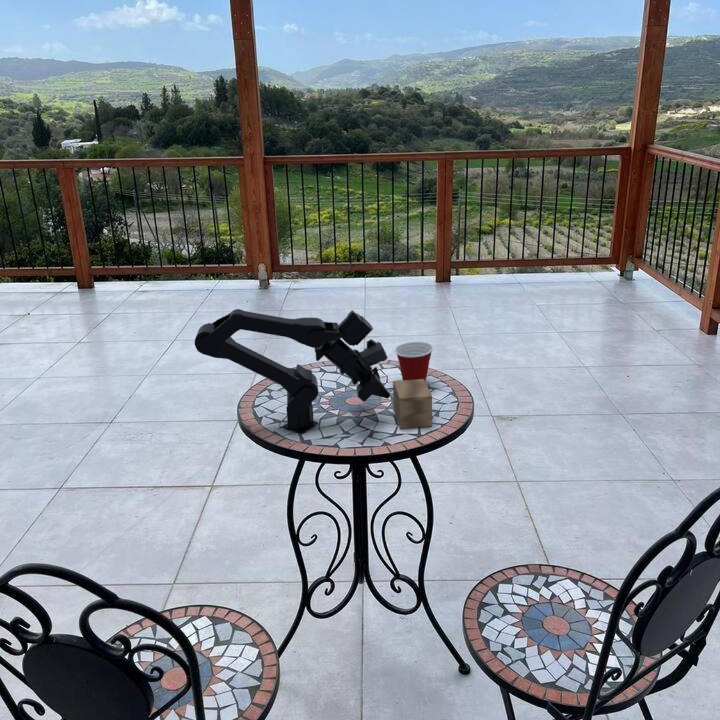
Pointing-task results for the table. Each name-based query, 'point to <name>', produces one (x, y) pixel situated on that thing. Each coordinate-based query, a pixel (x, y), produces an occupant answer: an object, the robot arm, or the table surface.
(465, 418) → the table surface
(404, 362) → the plastic cup
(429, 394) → the brown box
